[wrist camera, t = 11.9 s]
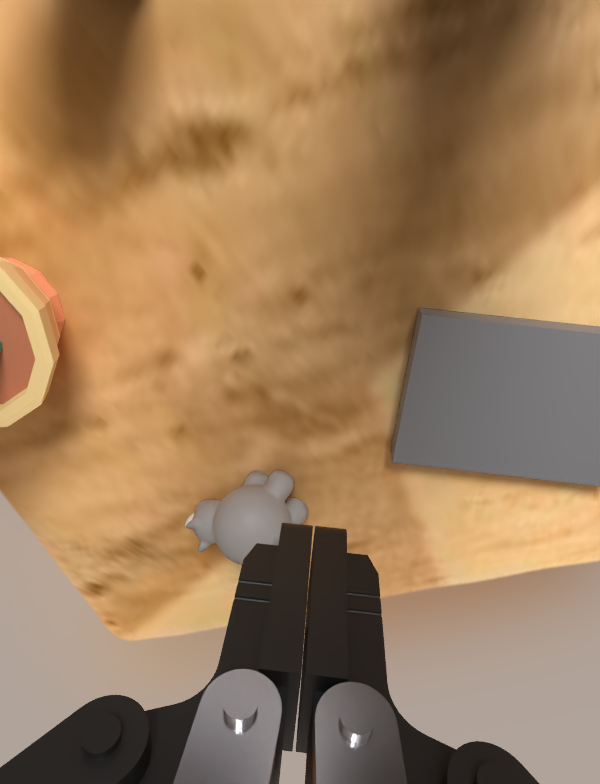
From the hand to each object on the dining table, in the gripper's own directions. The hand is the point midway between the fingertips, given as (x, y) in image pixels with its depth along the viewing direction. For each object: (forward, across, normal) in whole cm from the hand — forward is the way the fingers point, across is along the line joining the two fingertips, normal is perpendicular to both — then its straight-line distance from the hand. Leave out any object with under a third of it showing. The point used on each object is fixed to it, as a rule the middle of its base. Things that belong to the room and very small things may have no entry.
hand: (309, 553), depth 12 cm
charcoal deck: (+31, -17, +10) cm, 37 cm away
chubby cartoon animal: (+32, +6, +24) cm, 40 cm away
